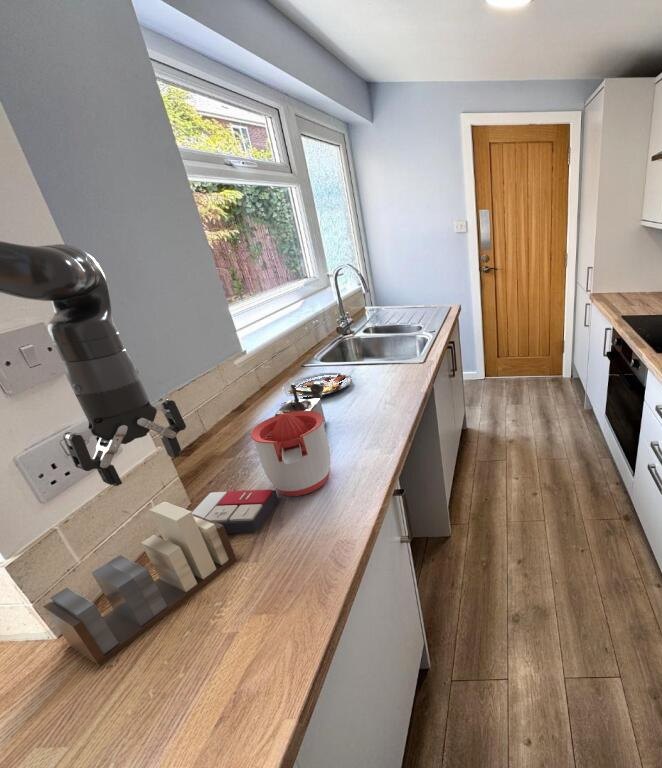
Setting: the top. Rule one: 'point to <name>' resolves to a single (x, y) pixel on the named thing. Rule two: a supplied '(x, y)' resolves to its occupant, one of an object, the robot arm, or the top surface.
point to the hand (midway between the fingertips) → (146, 469)
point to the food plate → (327, 389)
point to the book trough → (136, 594)
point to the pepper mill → (305, 401)
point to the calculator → (238, 509)
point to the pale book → (184, 536)
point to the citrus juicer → (294, 451)
